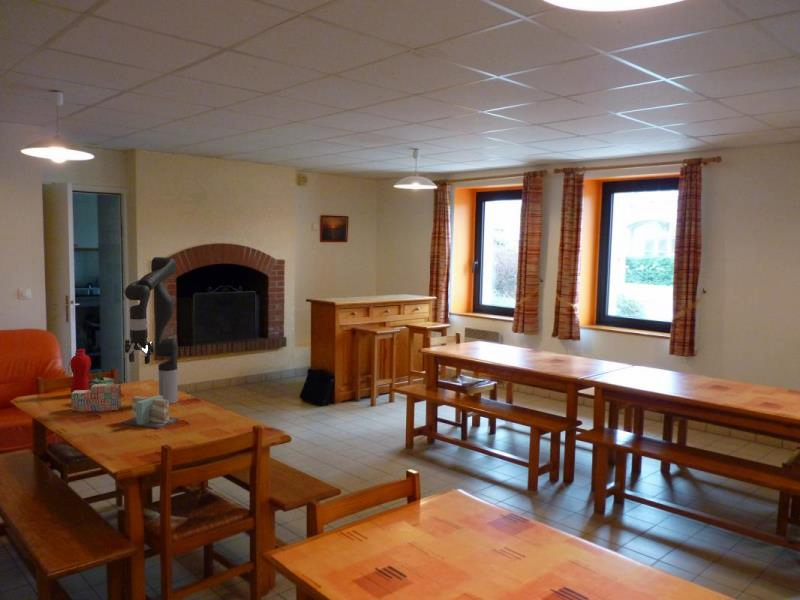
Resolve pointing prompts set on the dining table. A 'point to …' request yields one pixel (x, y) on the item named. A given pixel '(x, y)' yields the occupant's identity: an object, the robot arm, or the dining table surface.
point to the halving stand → (153, 414)
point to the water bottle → (80, 370)
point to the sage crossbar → (145, 409)
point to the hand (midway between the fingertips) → (139, 362)
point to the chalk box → (100, 381)
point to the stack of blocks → (97, 398)
